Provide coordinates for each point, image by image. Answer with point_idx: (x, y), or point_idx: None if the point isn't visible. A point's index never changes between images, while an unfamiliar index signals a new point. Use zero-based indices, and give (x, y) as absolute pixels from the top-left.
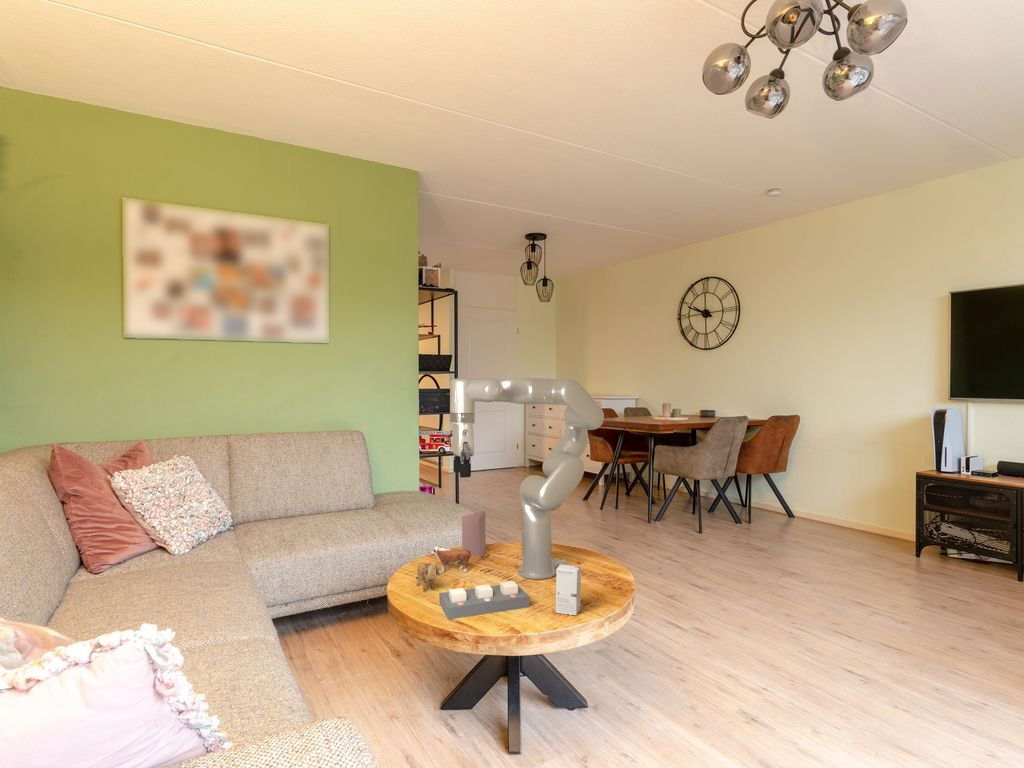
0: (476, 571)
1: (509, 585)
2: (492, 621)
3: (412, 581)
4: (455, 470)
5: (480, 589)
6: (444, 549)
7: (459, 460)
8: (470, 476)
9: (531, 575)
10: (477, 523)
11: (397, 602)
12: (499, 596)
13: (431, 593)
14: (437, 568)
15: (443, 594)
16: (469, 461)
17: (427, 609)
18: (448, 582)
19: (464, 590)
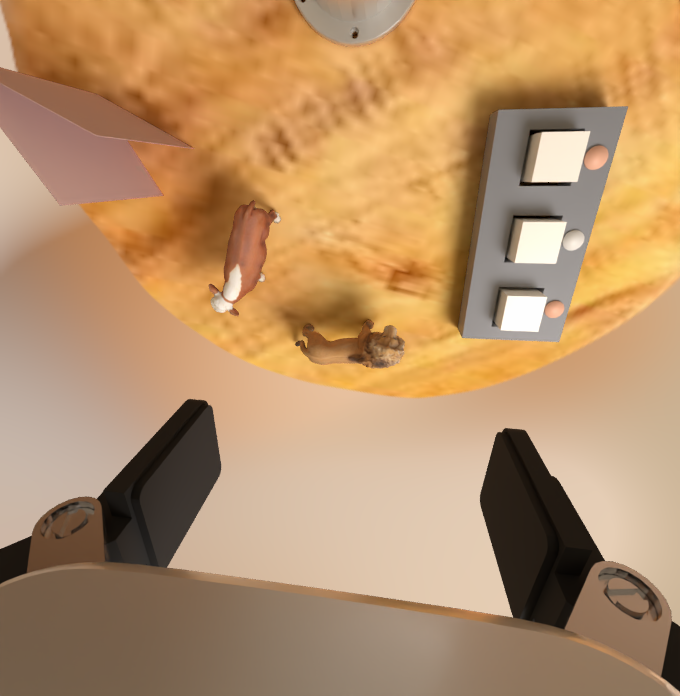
0: (279, 183)
1: (570, 159)
2: (622, 243)
3: None
4: (213, 473)
5: (547, 255)
6: (236, 285)
7: (153, 528)
8: (522, 430)
9: (406, 4)
10: (34, 117)
11: (409, 397)
12: (569, 200)
13: None
14: (397, 341)
15: (475, 331)
16: (659, 624)
17: (473, 355)
18: (337, 278)
19: (528, 296)
